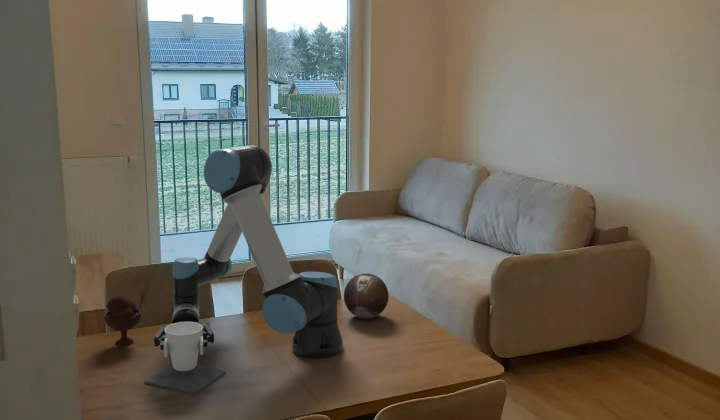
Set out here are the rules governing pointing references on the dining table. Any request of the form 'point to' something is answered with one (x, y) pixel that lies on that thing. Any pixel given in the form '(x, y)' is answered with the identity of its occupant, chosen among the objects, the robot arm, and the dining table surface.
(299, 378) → the dining table surface
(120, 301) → the ice cream bowl
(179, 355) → the cup
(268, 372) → the dining table surface
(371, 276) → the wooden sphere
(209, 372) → the mat
